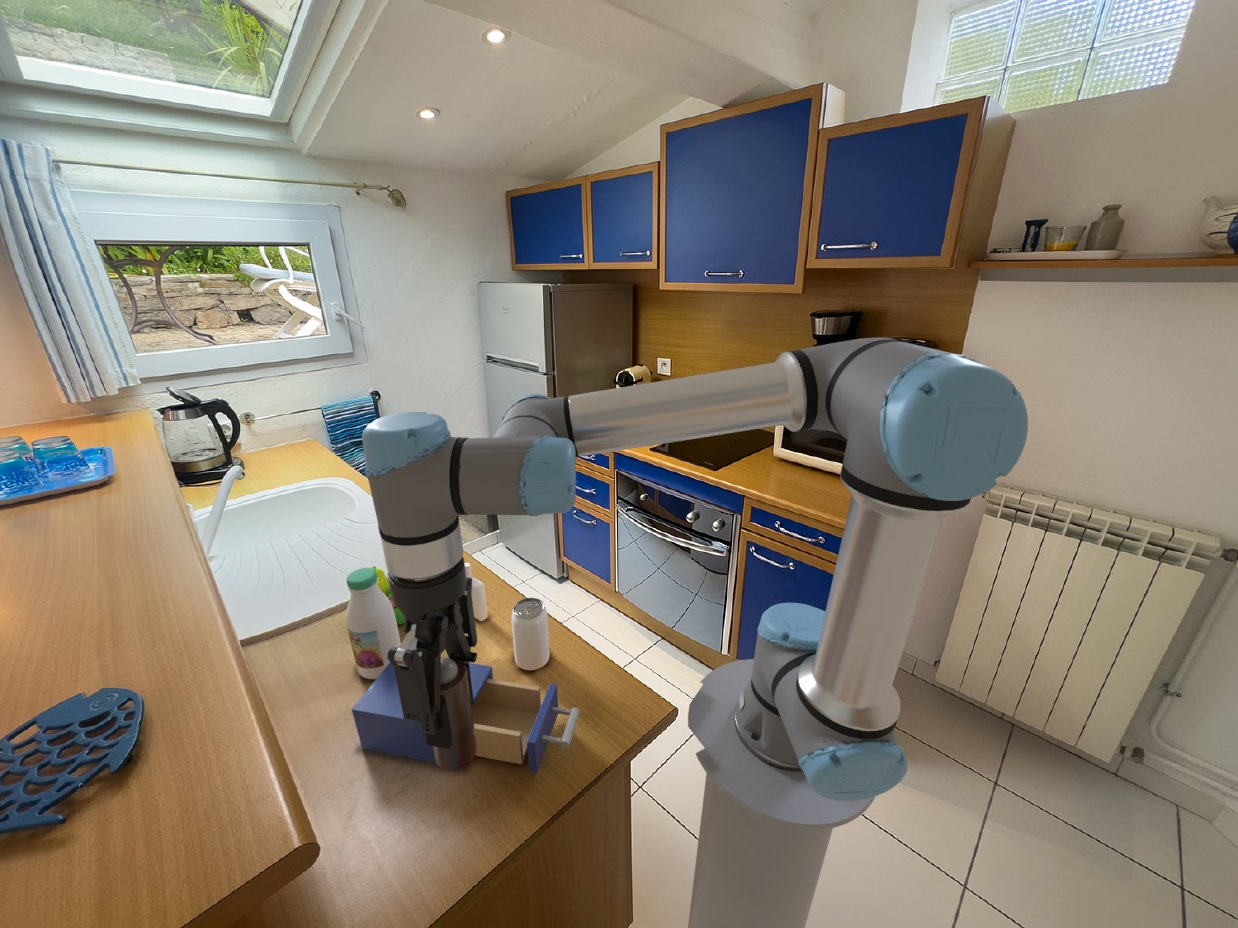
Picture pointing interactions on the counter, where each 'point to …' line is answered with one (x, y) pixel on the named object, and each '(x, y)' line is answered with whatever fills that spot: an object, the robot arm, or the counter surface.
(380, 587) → the fruit basket
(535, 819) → the counter surface
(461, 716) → the pepper mill
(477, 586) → the perfume bottle
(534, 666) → the can
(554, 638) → the counter surface
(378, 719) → the cabinet
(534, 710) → the drawer
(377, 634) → the milk bottle
